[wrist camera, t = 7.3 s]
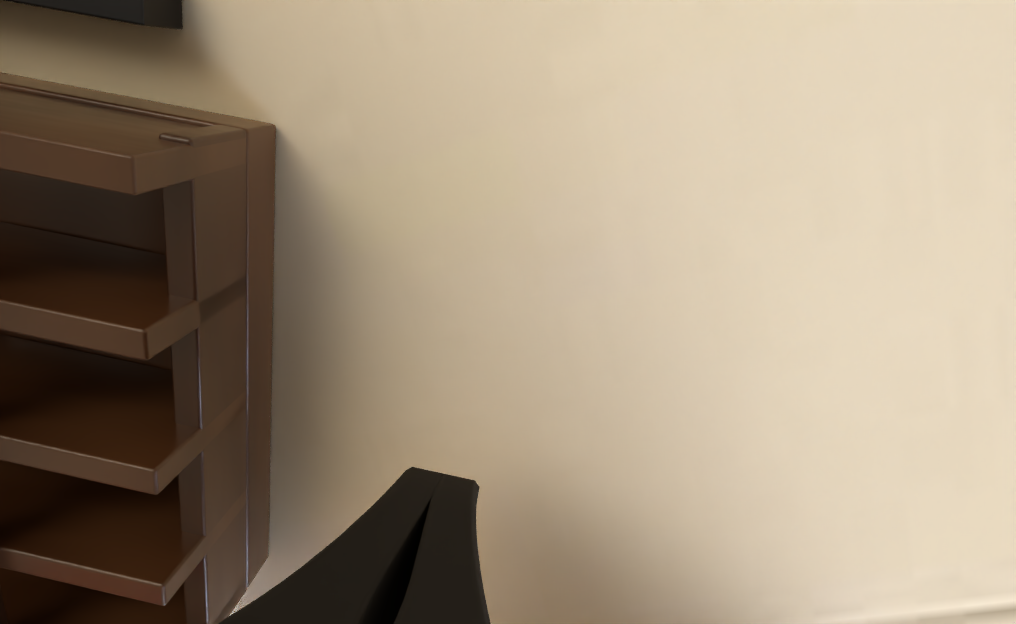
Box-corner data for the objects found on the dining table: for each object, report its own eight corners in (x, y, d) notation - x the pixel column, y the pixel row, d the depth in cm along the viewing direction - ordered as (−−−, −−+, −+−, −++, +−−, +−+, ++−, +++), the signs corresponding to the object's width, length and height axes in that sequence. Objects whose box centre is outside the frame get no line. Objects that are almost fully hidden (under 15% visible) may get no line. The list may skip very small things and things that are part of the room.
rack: (277, 123, 13) (101, 154, 8) (269, 556, 17) (153, 731, 13) (-77, 57, 13) (-432, 49, 9) (7, 496, 18) (-196, 644, 13)
